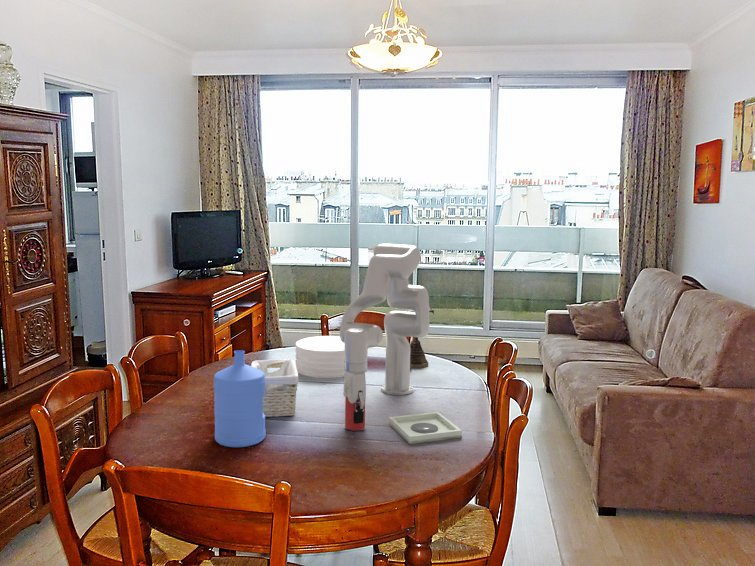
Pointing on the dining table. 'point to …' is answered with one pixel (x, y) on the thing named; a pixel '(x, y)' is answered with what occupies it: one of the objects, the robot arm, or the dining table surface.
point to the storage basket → (279, 386)
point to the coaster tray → (425, 427)
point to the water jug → (239, 404)
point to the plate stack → (320, 357)
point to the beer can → (352, 417)
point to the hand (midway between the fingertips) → (355, 418)
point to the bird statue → (417, 351)
